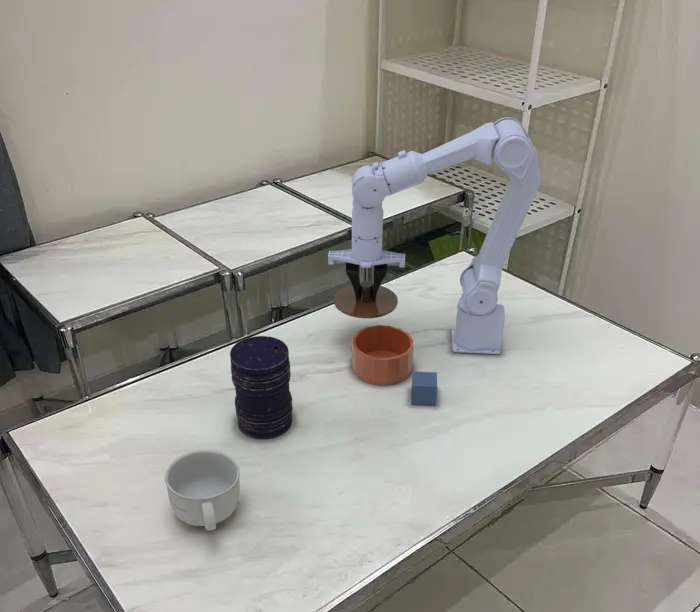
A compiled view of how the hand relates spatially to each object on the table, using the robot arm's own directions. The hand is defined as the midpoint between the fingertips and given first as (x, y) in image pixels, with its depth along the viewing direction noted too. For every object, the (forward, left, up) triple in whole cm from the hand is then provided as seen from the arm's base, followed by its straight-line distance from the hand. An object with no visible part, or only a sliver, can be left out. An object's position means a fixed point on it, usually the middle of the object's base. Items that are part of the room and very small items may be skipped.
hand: (365, 297), depth 142 cm
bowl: (-4, +9, -10) cm, 14 cm away
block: (-12, +18, -10) cm, 24 cm away
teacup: (+21, +50, -11) cm, 55 cm away
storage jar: (+16, +27, -11) cm, 33 cm away
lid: (0, 0, -1) cm, 1 cm away
